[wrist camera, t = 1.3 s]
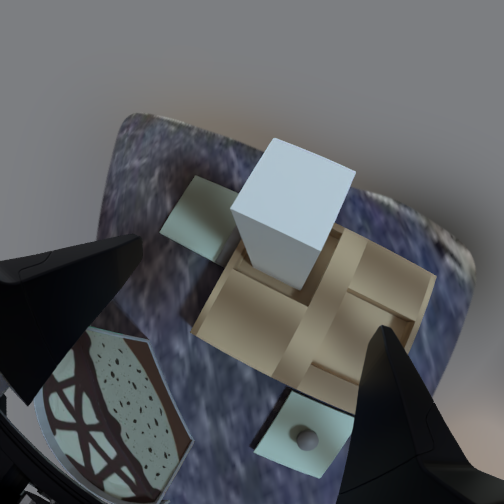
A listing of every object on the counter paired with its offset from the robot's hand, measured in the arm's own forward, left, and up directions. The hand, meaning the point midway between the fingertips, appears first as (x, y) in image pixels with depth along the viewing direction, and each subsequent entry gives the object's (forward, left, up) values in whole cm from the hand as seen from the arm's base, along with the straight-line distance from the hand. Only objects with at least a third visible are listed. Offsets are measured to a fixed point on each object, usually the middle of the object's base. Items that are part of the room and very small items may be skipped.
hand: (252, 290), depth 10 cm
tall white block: (+5, +1, -12) cm, 13 cm away
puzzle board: (-1, 0, -13) cm, 13 cm away
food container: (-12, +6, -13) cm, 18 cm away
